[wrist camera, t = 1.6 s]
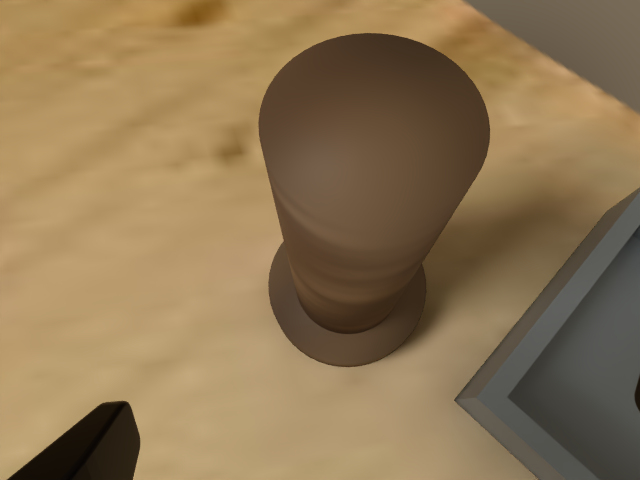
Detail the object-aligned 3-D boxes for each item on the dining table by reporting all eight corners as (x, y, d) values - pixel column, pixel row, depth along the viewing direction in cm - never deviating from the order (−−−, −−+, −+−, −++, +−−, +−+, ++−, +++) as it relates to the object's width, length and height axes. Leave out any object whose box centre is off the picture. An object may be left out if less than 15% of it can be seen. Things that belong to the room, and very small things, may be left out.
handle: (449, 289, 21) (621, 115, 9) (349, 401, 19) (392, 378, 7) (342, 198, 23) (361, -49, 11) (241, 292, 21) (126, 123, 9)
